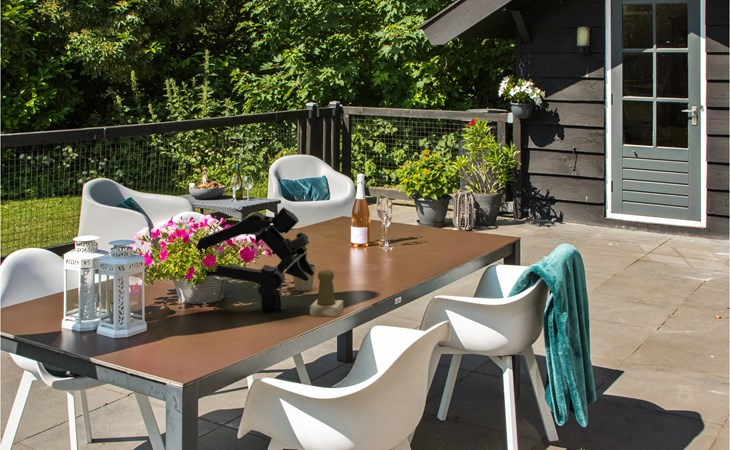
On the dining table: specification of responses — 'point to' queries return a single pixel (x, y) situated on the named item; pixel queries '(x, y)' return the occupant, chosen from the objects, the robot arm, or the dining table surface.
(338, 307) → the beige square block
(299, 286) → the flower pot
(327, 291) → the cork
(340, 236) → the dining table surface
